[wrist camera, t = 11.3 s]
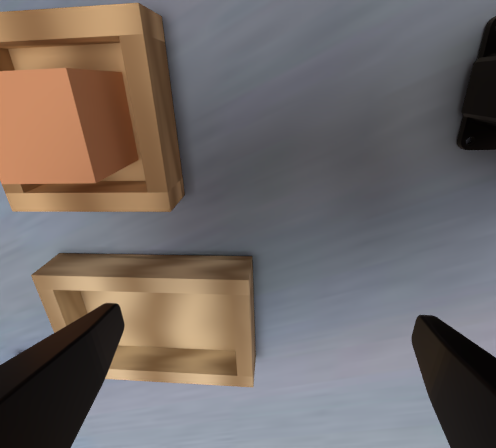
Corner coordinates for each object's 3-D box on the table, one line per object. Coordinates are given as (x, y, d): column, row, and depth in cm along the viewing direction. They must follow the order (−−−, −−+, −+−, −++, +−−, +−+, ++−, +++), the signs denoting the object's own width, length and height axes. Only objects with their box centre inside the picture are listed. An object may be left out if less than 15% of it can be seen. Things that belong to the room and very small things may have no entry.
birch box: (252, 256, 22) (248, 280, 19) (255, 356, 26) (253, 387, 24) (59, 253, 24) (30, 275, 21) (92, 348, 28) (72, 376, 25)
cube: (122, 72, 17) (65, 67, 13) (138, 159, 19) (95, 183, 15) (40, 76, 18) (-42, 73, 13) (65, 161, 20) (1, 184, 15)
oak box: (161, 16, 16) (138, 2, 14) (184, 194, 21) (170, 211, 18) (-11, 26, 17) (-65, 16, 15) (45, 195, 21) (12, 211, 19)
